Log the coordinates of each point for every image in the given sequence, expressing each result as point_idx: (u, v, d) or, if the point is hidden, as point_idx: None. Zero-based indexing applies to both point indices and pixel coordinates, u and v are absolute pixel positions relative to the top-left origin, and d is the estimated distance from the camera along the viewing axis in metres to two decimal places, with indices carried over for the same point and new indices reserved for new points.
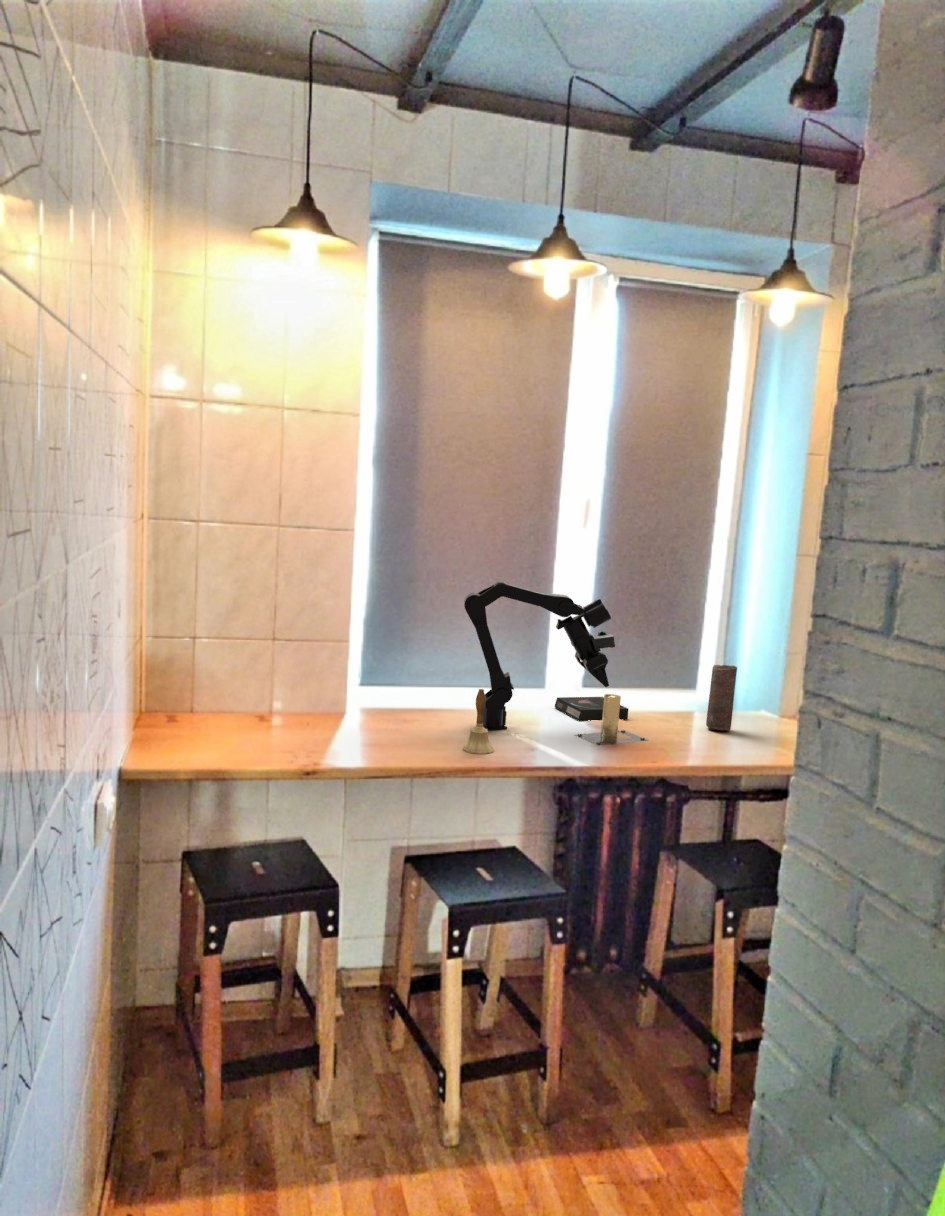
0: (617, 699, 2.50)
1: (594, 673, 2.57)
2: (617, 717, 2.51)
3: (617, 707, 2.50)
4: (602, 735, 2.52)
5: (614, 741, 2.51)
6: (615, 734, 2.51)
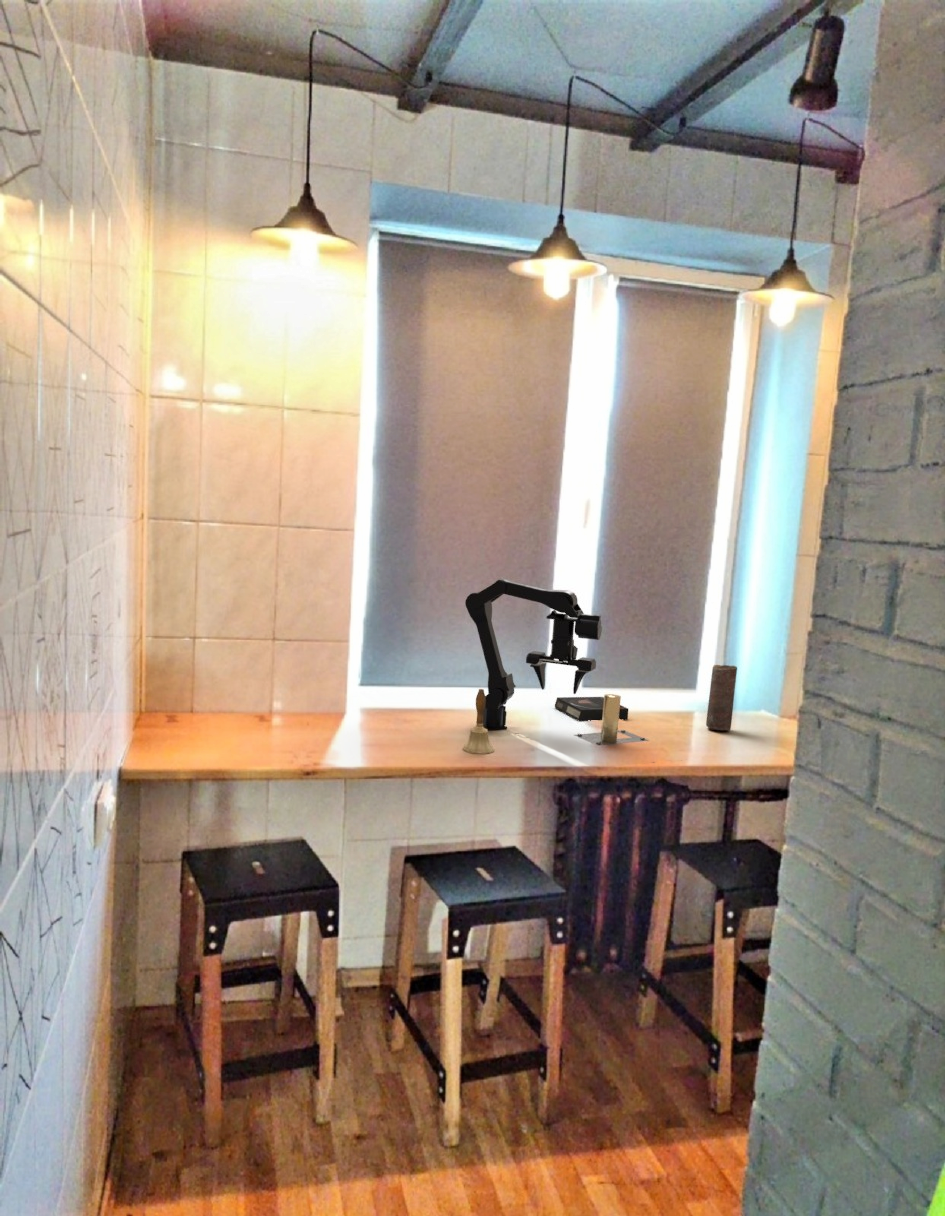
0: (617, 699, 2.50)
1: (580, 676, 2.53)
2: (617, 717, 2.51)
3: (617, 707, 2.50)
4: (602, 735, 2.52)
5: (614, 741, 2.51)
6: (615, 734, 2.51)
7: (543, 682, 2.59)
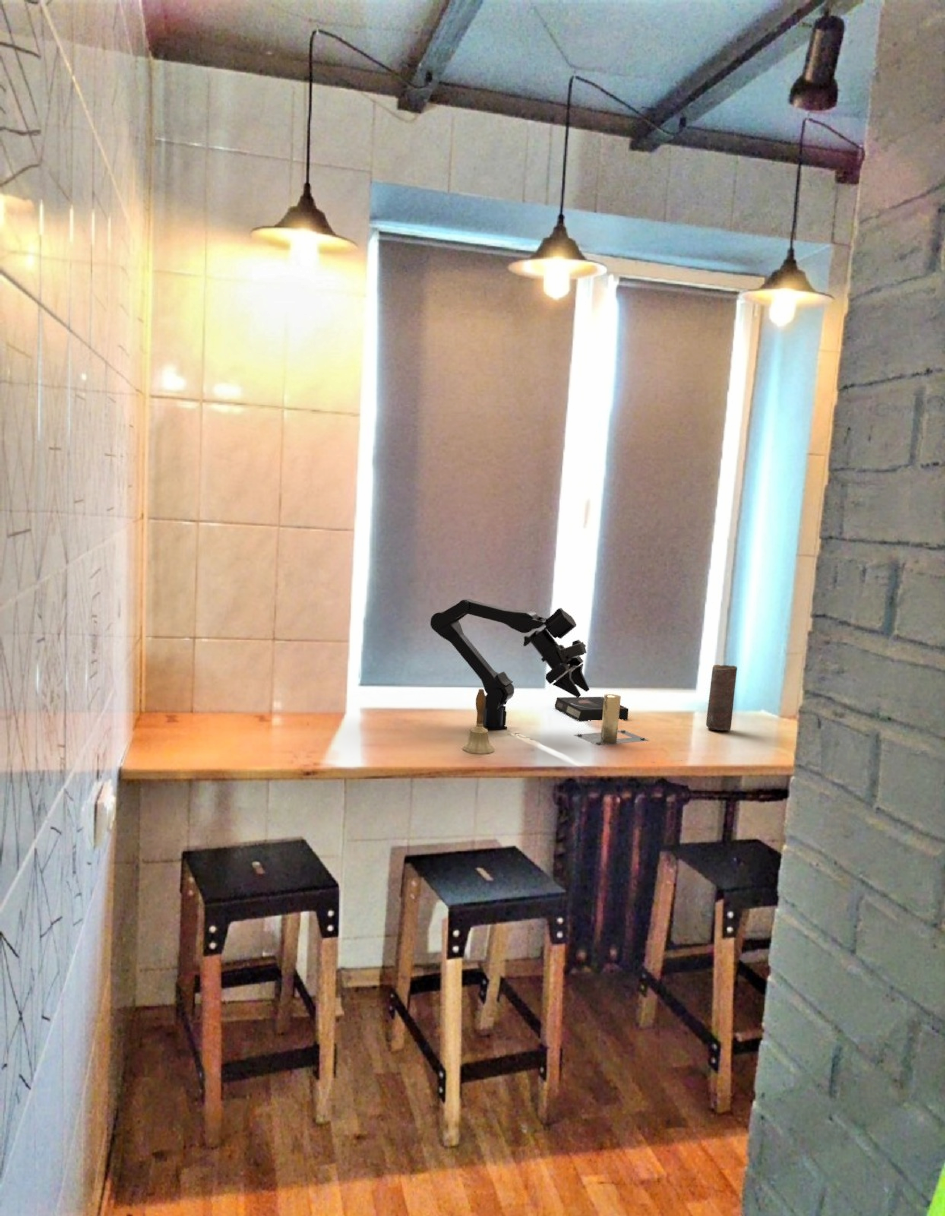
0: (617, 699, 2.50)
1: (560, 685, 2.50)
2: (617, 717, 2.51)
3: (617, 707, 2.50)
4: (602, 735, 2.52)
5: (614, 741, 2.51)
6: (615, 734, 2.51)
7: (582, 685, 2.59)
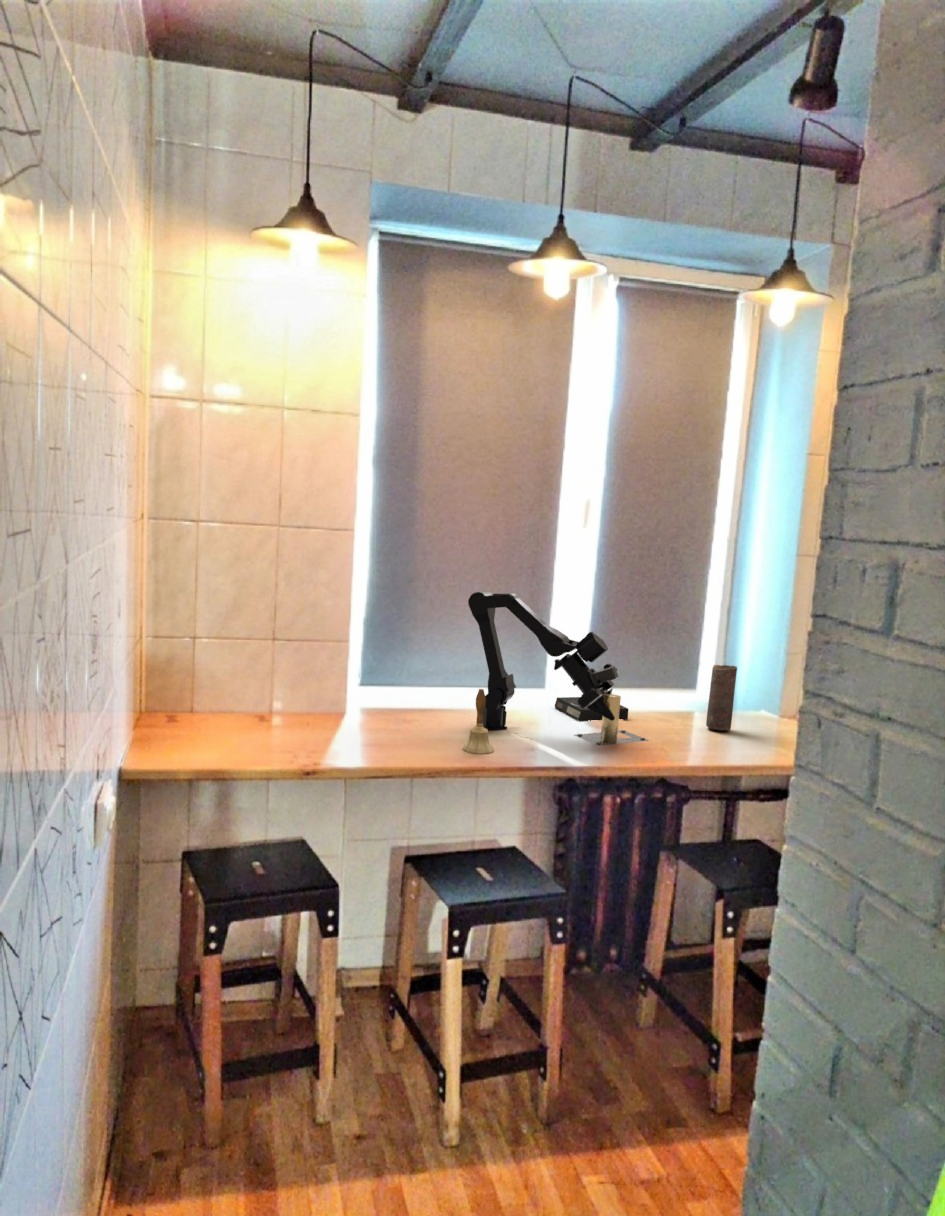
0: (617, 699, 2.50)
1: (594, 708, 2.49)
2: (617, 717, 2.51)
3: (617, 707, 2.50)
4: (602, 735, 2.52)
5: (614, 741, 2.51)
6: (615, 734, 2.51)
7: None
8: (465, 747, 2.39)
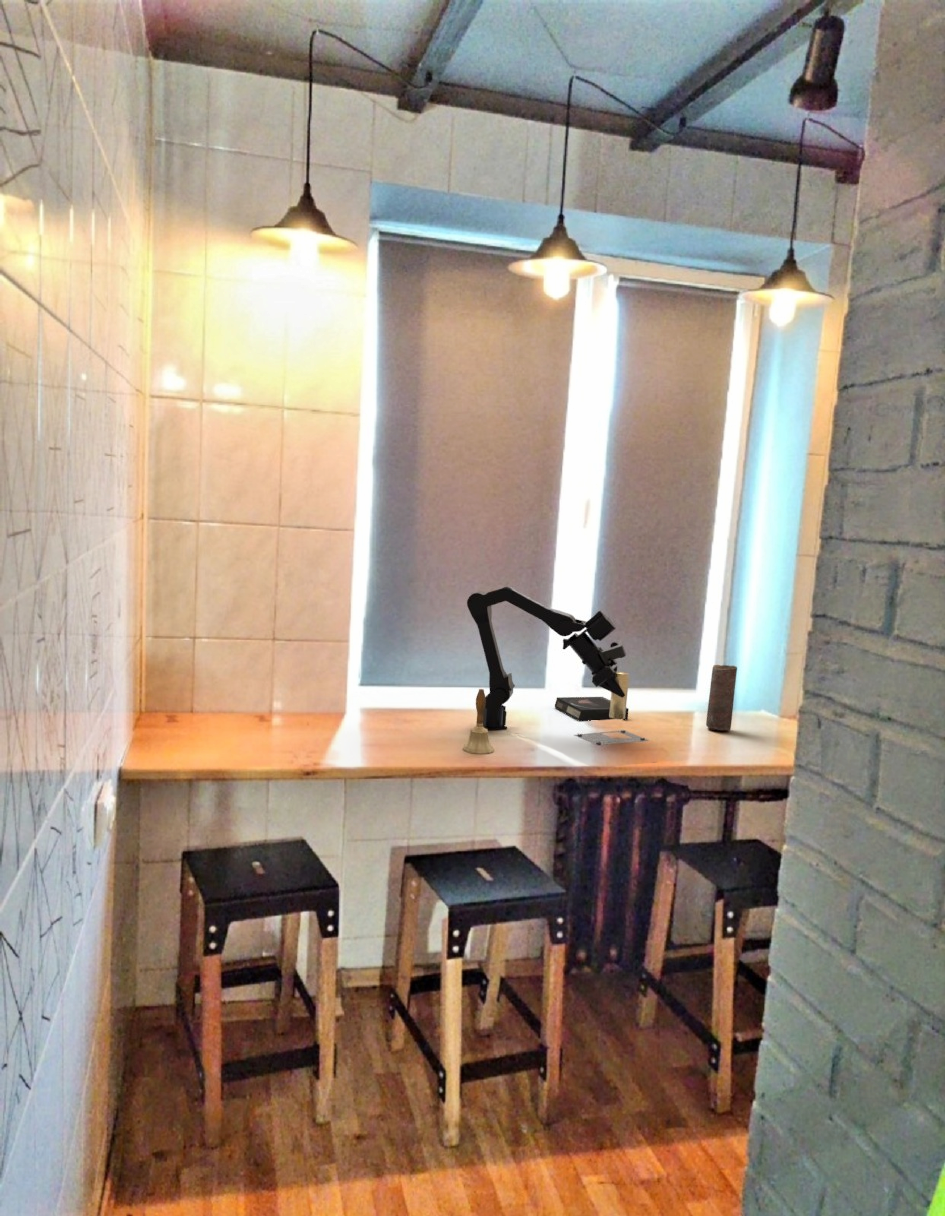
0: (627, 676, 2.55)
1: (605, 686, 2.53)
2: (626, 694, 2.56)
3: (626, 684, 2.55)
4: (612, 712, 2.56)
5: (623, 717, 2.56)
6: (624, 710, 2.56)
7: None
8: (465, 747, 2.39)
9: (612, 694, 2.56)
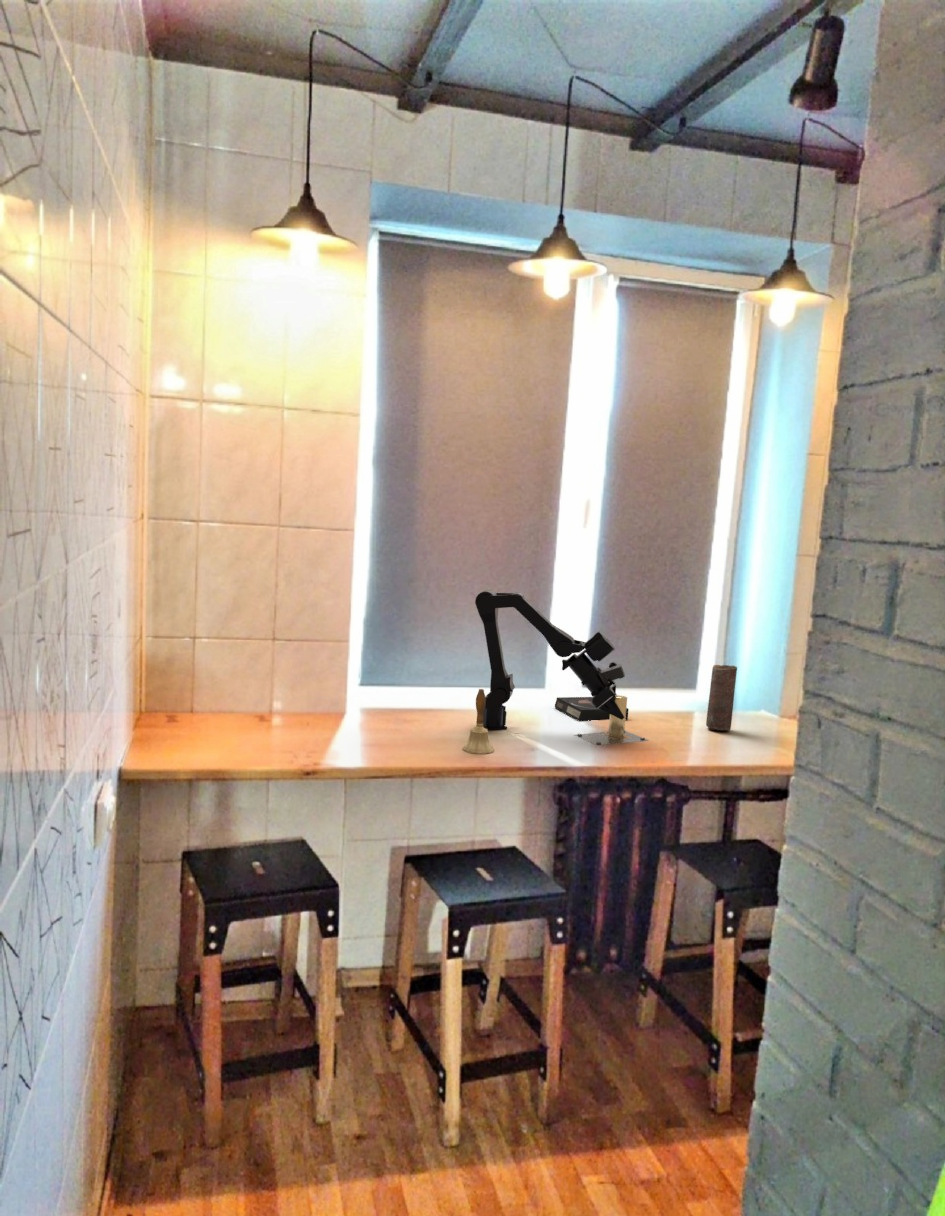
0: (625, 700, 2.57)
1: (605, 708, 2.53)
2: (624, 717, 2.58)
3: (625, 708, 2.57)
4: (610, 735, 2.58)
5: None
6: (623, 734, 2.58)
7: None
8: (465, 747, 2.39)
9: (610, 718, 2.58)
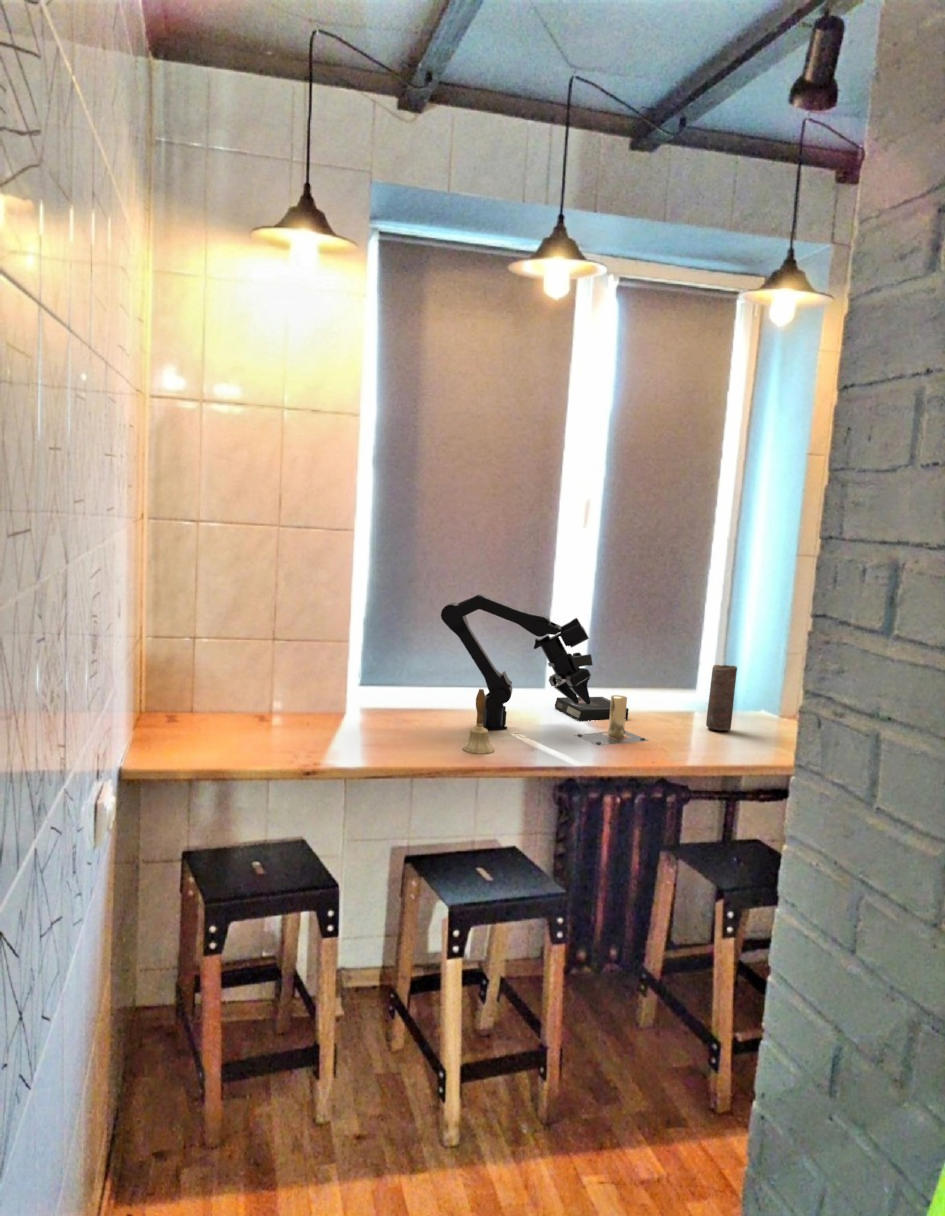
0: (625, 700, 2.57)
1: (577, 689, 2.55)
2: (624, 717, 2.58)
3: (625, 708, 2.57)
4: (610, 735, 2.58)
5: None
6: (623, 734, 2.58)
7: (573, 697, 2.66)
8: (465, 747, 2.39)
9: (610, 718, 2.58)
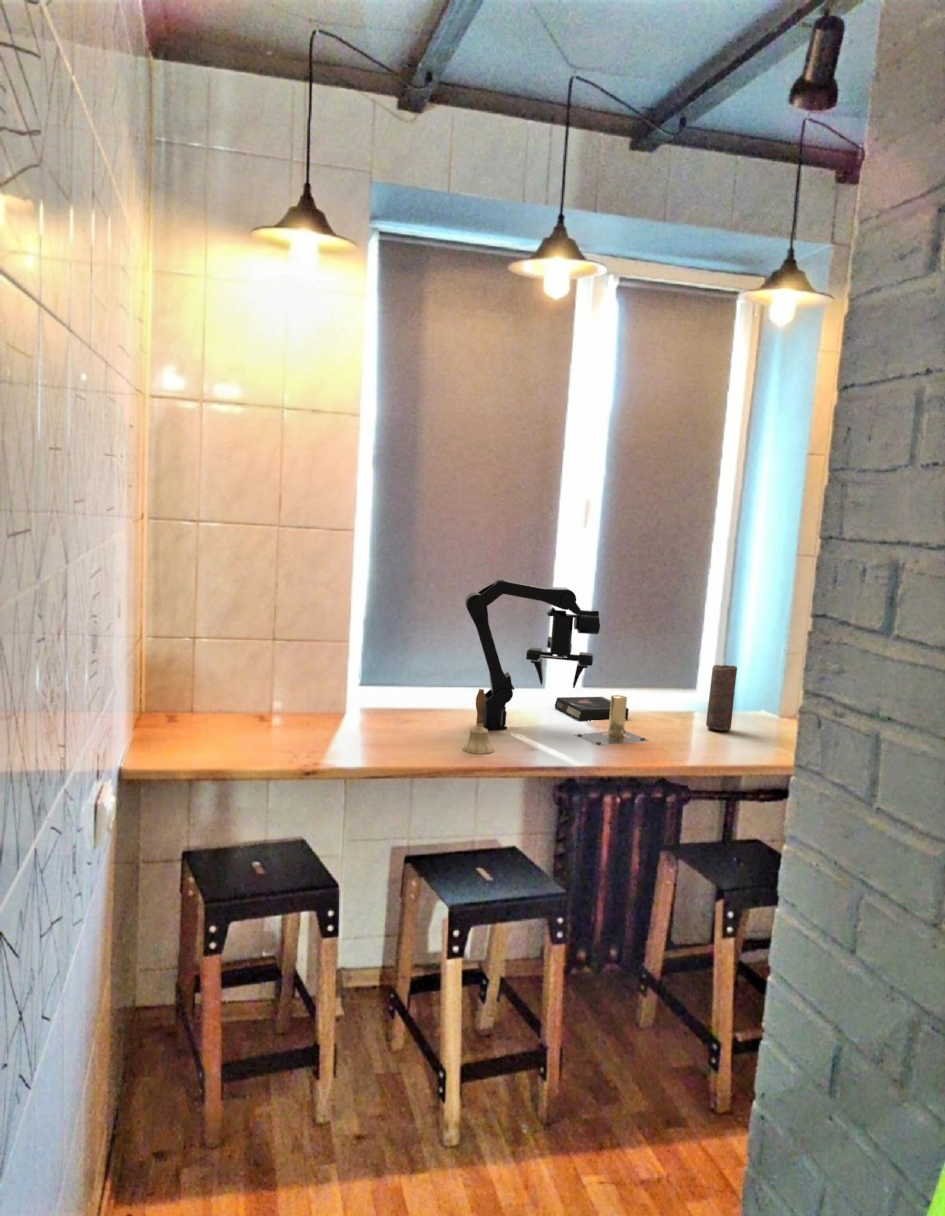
0: (625, 700, 2.57)
1: None
2: (624, 717, 2.58)
3: (624, 707, 2.57)
4: (610, 735, 2.58)
5: None
6: (623, 734, 2.58)
7: (542, 677, 2.65)
8: (465, 747, 2.39)
9: (610, 718, 2.58)
